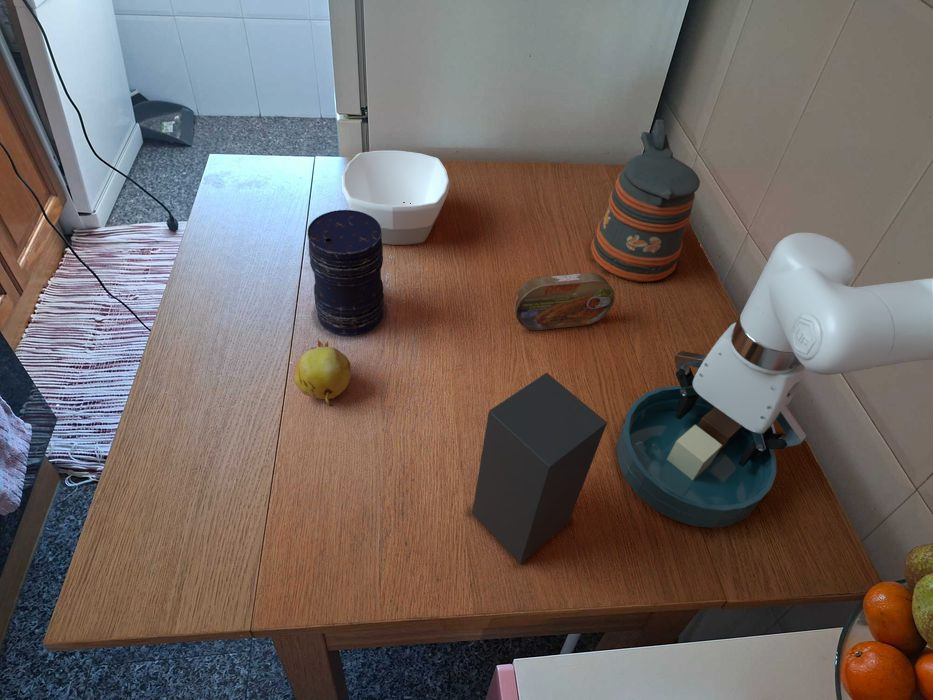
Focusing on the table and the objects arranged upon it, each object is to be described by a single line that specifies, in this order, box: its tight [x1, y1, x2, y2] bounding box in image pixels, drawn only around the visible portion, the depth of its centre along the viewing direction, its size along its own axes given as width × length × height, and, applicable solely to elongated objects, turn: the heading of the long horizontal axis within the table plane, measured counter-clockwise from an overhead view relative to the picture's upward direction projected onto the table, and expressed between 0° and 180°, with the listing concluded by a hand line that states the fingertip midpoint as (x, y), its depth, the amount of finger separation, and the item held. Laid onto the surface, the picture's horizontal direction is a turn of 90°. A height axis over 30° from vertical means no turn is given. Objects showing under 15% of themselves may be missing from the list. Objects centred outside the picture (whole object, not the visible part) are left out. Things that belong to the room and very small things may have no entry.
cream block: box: [667, 425, 722, 480], centre depth 80 cm, size 4×4×4 cm
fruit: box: [293, 339, 352, 408], centre depth 83 cm, size 7×7×10 cm
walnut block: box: [698, 407, 743, 456], centre depth 83 cm, size 4×4×4 cm
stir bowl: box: [615, 385, 777, 529], centre depth 80 cm, size 18×18×4 cm
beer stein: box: [590, 119, 701, 283], centre depth 105 cm, size 19×15×20 cm
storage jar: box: [307, 209, 385, 338], centre depth 90 cm, size 10×10×15 cm
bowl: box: [340, 150, 451, 246], centre depth 109 cm, size 18×18×9 cm
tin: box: [512, 272, 615, 331], centre depth 95 cm, size 15×3×8 cm, turn 102°
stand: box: [471, 372, 608, 565], centre depth 68 cm, size 8×8×19 cm
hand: (713, 435), depth 83 cm, fingers open, 9 cm apart
